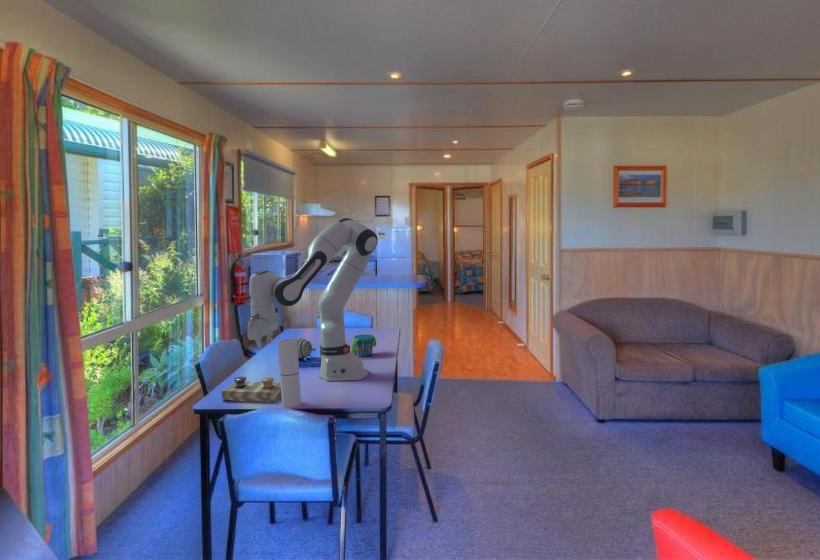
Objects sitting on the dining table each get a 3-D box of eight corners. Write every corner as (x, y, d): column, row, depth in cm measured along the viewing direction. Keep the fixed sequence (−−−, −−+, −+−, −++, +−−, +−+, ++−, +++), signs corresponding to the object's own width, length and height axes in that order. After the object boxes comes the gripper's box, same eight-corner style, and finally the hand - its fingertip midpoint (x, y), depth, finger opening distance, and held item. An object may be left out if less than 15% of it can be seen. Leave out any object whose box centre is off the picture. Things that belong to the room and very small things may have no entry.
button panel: (286, 392, 211) (285, 382, 211) (273, 402, 200) (272, 392, 199) (237, 390, 215) (237, 381, 215) (222, 400, 204) (221, 391, 203)
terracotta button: (276, 387, 208) (275, 377, 207) (270, 391, 203) (270, 381, 203) (265, 387, 209) (264, 377, 208) (259, 391, 204) (259, 381, 204)
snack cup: (369, 350, 273) (369, 332, 272) (382, 354, 265) (382, 335, 264) (346, 357, 262) (345, 337, 261) (359, 360, 254) (358, 340, 253)
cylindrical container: (283, 408, 193) (279, 344, 189) (280, 402, 199) (276, 340, 196) (302, 405, 195) (298, 341, 192) (298, 399, 202) (295, 338, 199)
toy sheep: (291, 356, 267) (290, 335, 266) (321, 357, 263) (319, 336, 261) (281, 362, 257) (280, 340, 256) (312, 363, 253) (310, 341, 251)
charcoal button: (249, 386, 210) (248, 376, 210) (243, 390, 206) (242, 380, 205) (238, 386, 211) (237, 376, 211) (232, 390, 206) (231, 380, 206)
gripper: (257, 317, 191) (260, 352, 193) (280, 307, 211) (282, 339, 213) (242, 317, 193) (244, 352, 194) (266, 307, 213) (268, 339, 214)
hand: (264, 345), depth 204 cm, fingers open, 6 cm apart
